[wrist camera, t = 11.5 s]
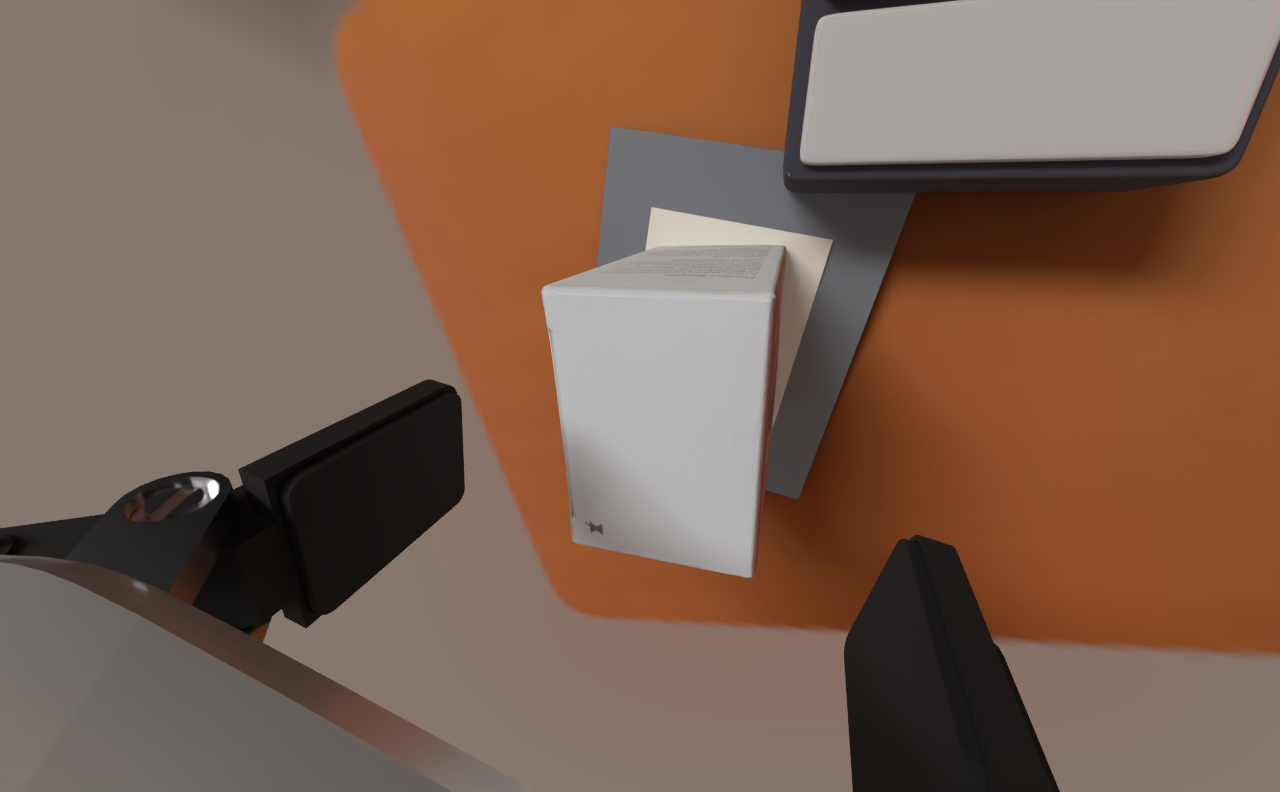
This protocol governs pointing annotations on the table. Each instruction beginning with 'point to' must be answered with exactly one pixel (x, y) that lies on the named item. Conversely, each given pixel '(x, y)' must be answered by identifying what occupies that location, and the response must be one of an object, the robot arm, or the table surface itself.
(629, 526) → the small box
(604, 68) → the table surface
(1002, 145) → the calculator
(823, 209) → the board
